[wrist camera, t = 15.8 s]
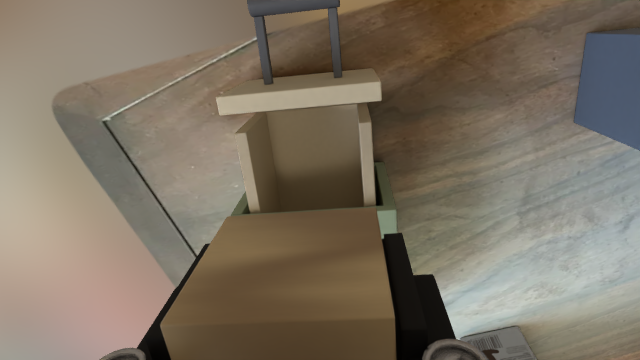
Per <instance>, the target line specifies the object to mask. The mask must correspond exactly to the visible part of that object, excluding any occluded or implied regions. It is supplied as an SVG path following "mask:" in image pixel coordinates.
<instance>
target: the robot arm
mask: <svg viewBox="0 0 640 360" xmlns="http://www.w3.org/2000/svg"><path fill="white" fill-rule="evenodd" d="M382 243H383V249H384V255H385V261H386V267H387V273H388V279H389V285H390V291H391V297H392V303H393V309H394V315H395V334H396V360H489V359H488V358H487V357H486V355H485V354H484V353H483V352H482V351H481V350H479V349H478V348H477V347H476V346H474V345H472V344H470V343H468V342H465V341H461V340H457V339H456V337H455V335H454V332H453V329H452V326H451V323H450V320H449V318H448V315H447V312H446V309H445V306H444V303H443V300H442V298H441V295H440V292H439V289H438V286H437V283H436V280H435V278H434V276H433V275H432V274H430V275H413V272H412V269H411V265H410V261H409V258H408V254H407V250H406V246H405V243H404V239H403V235H402V233H391V234H384V239H382ZM209 245H210V244H205V245H204V247H203V248H202V250H201V251H200V253H199V255H198V256H197V258H196V259H195V261H194V262H193V264H192V265H191V267H190V269H189V270H188V272H187V273H186V275H185V276H184V278H183V279H182V281H181V283H180V284H179V286H178V287H177V288H176V289H175V290H174V291H173V293H172V294H171V296H170V298H169V299H168V301H167V302H166V304H165V305H164V307H163V309H162V310H161V311H160V313H159V315H158V316H157V318H156V319H155V321H154V323H153V324H152V325H151V327H150V328H149V330H148V332H147V333H146V335H145V336H144V338H143V339H142V341H141V342H140V344H139V345H138V347H137V348H125V349H121V350H117V351H114V352H112V353H110V354H108V355H106V356H104V357H103V358H101V359H100V360H171V358H170V355H169V352H168V349H167V345H166V342H165V339H164V336H163V333H162V330H161V327H160V325H161V322H162V321H163V319H164V317H165V316H166V314H167V312H168V311H169V309H170V308H171V306H172V304H173V303H174V301H175V300H176V298H177V296H178V295H179V293H180V292H181V290H182V288H183V287H184V285H185V284H186V282H187V280H188V279H189V277H190V276H191V274H192V272H193V271H194V269H195V268H196V266H197V264H198V263H199V261H200V259H201V258H202V256H203V255H204V253H205V251H206V250H207V248H208V247H209Z"/></svg>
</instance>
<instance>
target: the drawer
mask: <svg viewBox="0 0 640 360" xmlns="http://www.w3.org/2000/svg"><path fill="white" fill-rule="evenodd" d="M247 4H248V9H249V13H250V15H251V16H252V17H254V22H255V28H256V35H257V41H258V47H259V54H260V60H261V67H262V73H263V79H258V80H248V81H245V82H243V83H241V84H240V85H238V86H236V87H234V88H232V89H230V90H228V91H227V92H225V93H223V94H221V95H219V96H217V97H216V100H217V105H218V110H219V114H220V115H229V114H240V113H251V112H257V113H256V114H255V115H254V116H253V117H252V118H251V119H250V120H249V121H248V122H246V123H245V124H244V125H243V126H242V127H241V128H240V129H239V130H238V131H237V132H236V133H235V138H236V143H237V148H238V154H239V159H240V164H241V169H242V174H243V180H244V185H245V190H246V195H247V200H248V206H249V211H250V214H257V213H273V212H289V211H305V210H322V209H338V208H354V207H370V206H376V197H375V178H374V160H373V141H372V123H371V118H370V114H369V110H368V106H367V102H373V101H381V100H382V91H381V81H380V79H379V78H378V76H377V74H376V73H375V71H374V69H373V68H368V69H358V70H348V71H342V64H341V51H340V39H339V26H338V13H337V7H340V0H247ZM327 8H328V17H329V28H330V40H331V51H332V62H333V72H328V73H318V74H308V75H298V76H288V77H278V78H273V75H272V68H271V61H270V54H269V47H268V40H267V34H266V27H265V20H264V16H267V15H276V14H284V13H292V12H301V11H310V10H318V9H327Z"/></svg>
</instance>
